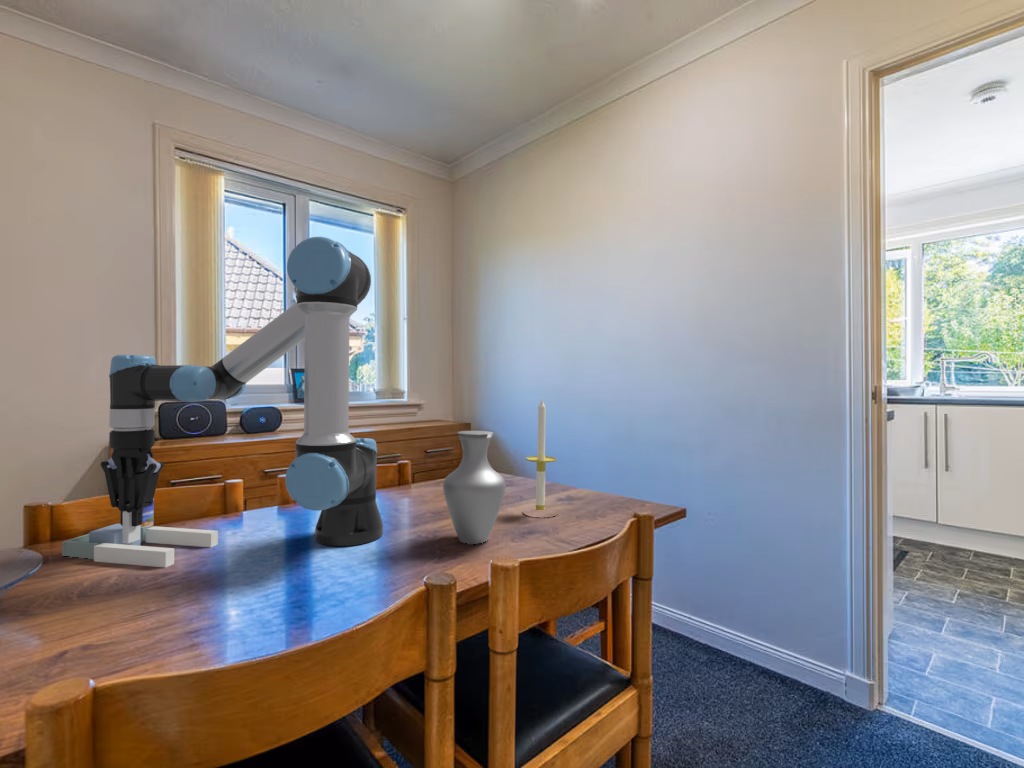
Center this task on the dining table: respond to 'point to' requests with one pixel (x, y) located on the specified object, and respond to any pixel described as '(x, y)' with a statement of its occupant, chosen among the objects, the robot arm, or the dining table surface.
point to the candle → (541, 458)
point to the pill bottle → (148, 516)
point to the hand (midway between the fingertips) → (131, 541)
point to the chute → (155, 554)
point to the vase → (474, 490)
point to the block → (110, 535)
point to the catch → (85, 546)
